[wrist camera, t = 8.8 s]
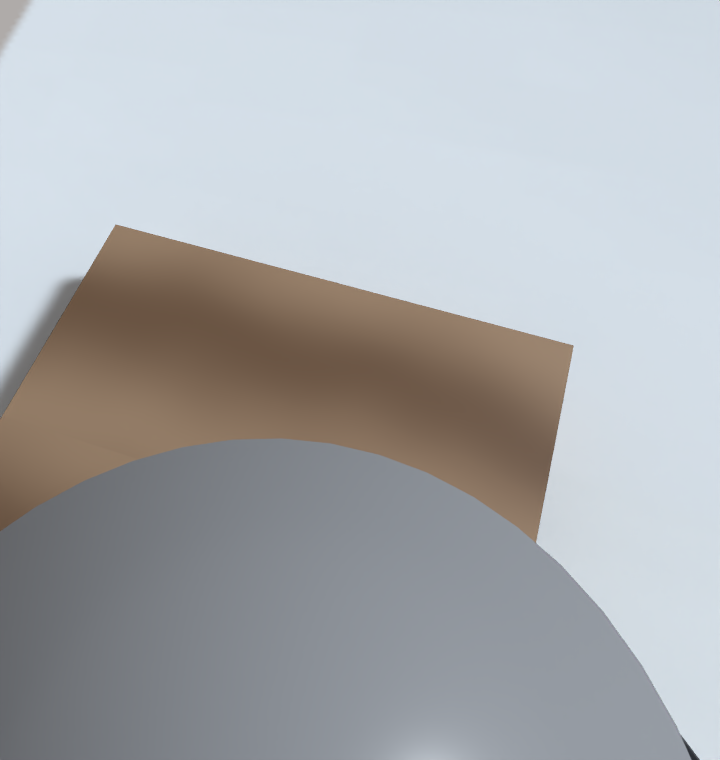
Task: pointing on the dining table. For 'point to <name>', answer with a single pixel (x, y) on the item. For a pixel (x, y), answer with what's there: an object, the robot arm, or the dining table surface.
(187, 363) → the notched board
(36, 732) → the bobbin
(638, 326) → the dining table surface
